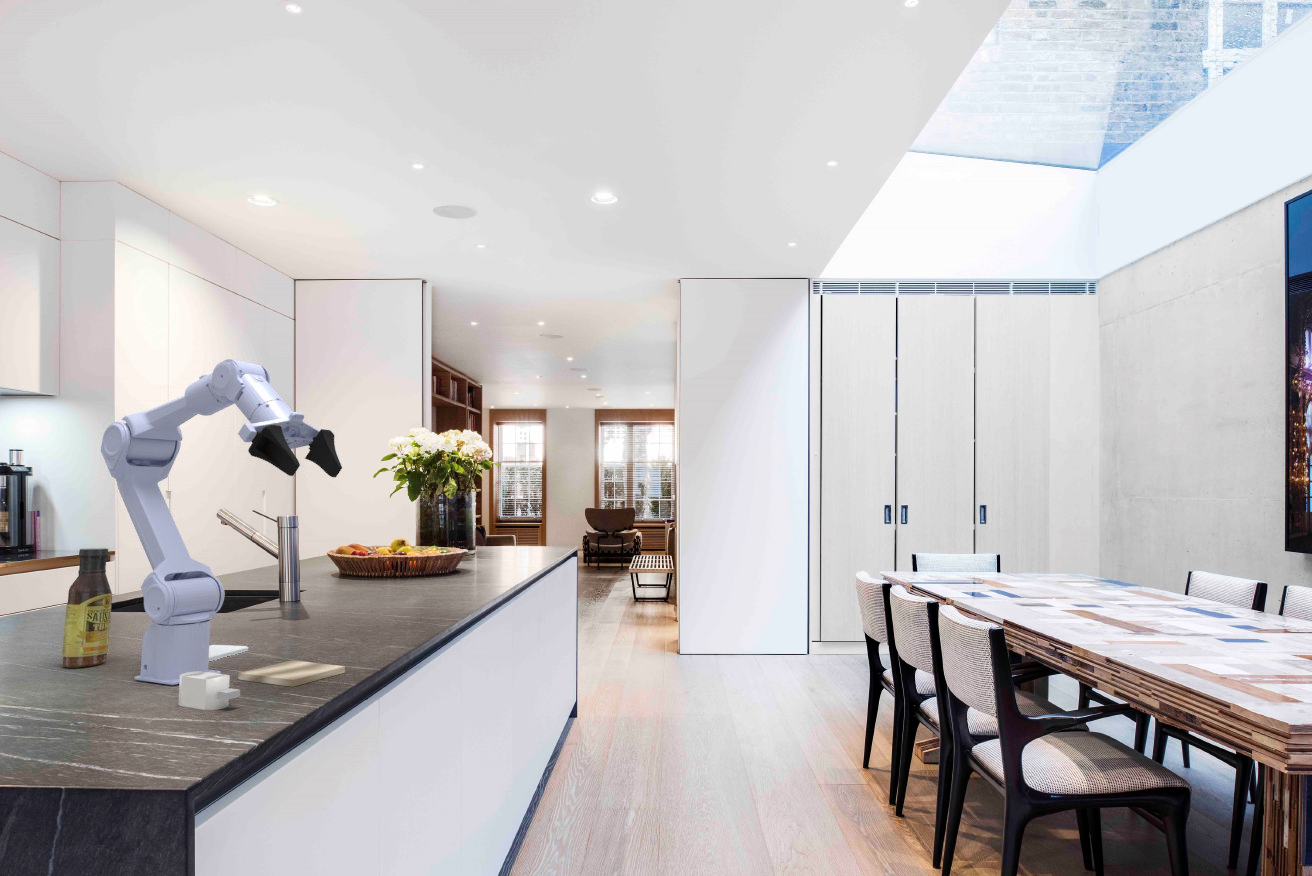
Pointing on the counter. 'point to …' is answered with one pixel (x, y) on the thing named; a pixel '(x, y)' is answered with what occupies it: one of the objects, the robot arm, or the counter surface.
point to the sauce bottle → (88, 612)
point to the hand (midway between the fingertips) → (316, 471)
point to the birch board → (291, 673)
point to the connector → (205, 690)
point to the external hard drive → (224, 651)
